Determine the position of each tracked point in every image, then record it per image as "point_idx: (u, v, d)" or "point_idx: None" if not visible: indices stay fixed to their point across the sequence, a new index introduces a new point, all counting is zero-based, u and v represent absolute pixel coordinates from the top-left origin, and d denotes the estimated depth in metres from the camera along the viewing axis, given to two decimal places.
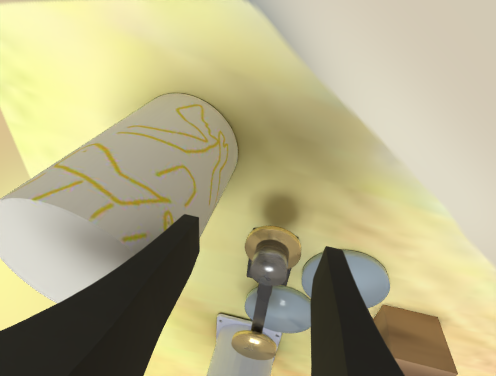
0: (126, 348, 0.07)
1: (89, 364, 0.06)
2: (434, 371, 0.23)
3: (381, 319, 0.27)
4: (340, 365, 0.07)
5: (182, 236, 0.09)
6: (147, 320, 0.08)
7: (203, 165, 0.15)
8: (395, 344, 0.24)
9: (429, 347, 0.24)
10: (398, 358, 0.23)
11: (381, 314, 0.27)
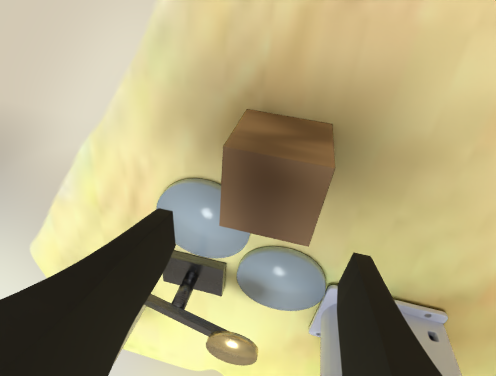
0: (88, 337, 0.07)
1: (42, 350, 0.06)
2: (231, 178, 0.13)
3: None
4: None
5: (152, 229, 0.10)
6: (114, 311, 0.08)
7: None
8: None
9: None
10: (219, 220, 0.15)
11: None
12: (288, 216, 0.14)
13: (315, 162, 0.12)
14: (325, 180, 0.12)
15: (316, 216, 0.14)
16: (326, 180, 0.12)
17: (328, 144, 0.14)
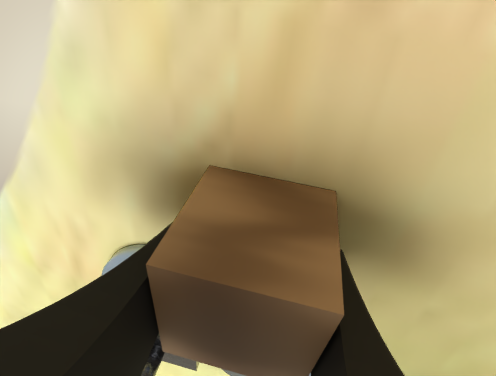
0: (124, 347, 0.07)
1: (86, 363, 0.06)
2: (167, 303, 0.08)
3: None
4: (339, 365, 0.07)
5: None
6: (145, 319, 0.08)
7: None
8: None
9: None
10: (162, 345, 0.10)
11: None
12: (265, 358, 0.09)
13: (307, 298, 0.07)
14: (326, 327, 0.07)
15: (311, 364, 0.08)
16: (328, 327, 0.07)
17: (331, 244, 0.08)
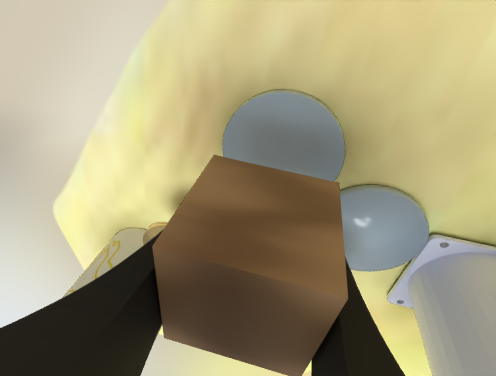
0: (123, 347, 0.07)
1: (85, 363, 0.06)
2: (172, 287, 0.08)
3: None
4: (340, 365, 0.07)
5: None
6: (144, 319, 0.08)
7: (85, 275, 0.22)
8: None
9: None
10: (164, 331, 0.10)
11: None
12: (267, 344, 0.09)
13: (312, 282, 0.07)
14: (329, 311, 0.07)
15: (312, 350, 0.08)
16: (331, 311, 0.07)
17: (335, 232, 0.08)
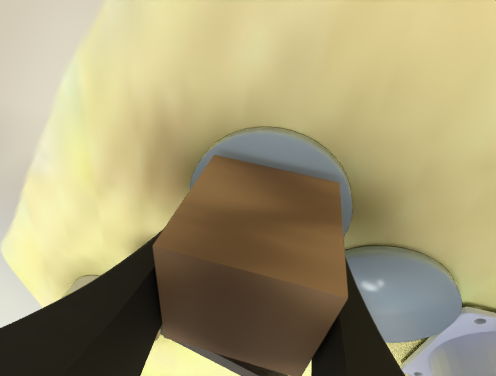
0: (123, 347, 0.07)
1: (85, 363, 0.06)
2: (172, 286, 0.08)
3: None
4: (340, 365, 0.07)
5: None
6: (144, 319, 0.08)
7: None
8: None
9: None
10: (164, 331, 0.10)
11: None
12: (267, 343, 0.09)
13: (312, 281, 0.07)
14: (329, 310, 0.07)
15: (312, 349, 0.08)
16: (331, 311, 0.07)
17: (335, 232, 0.08)
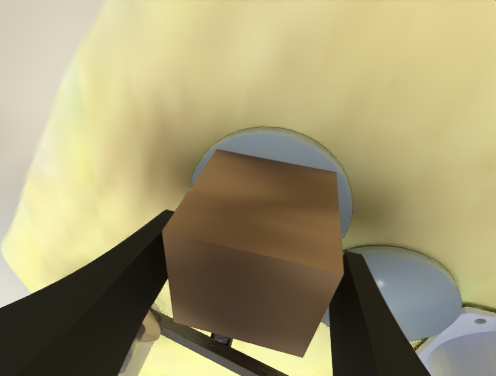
0: (99, 340, 0.07)
1: (55, 354, 0.06)
2: (181, 270, 0.09)
3: None
4: (370, 373, 0.07)
5: (160, 232, 0.10)
6: (123, 313, 0.08)
7: None
8: None
9: None
10: (173, 316, 0.11)
11: None
12: (271, 323, 0.09)
13: (310, 260, 0.07)
14: (327, 287, 0.08)
15: (313, 327, 0.09)
16: (329, 287, 0.08)
17: (332, 216, 0.09)
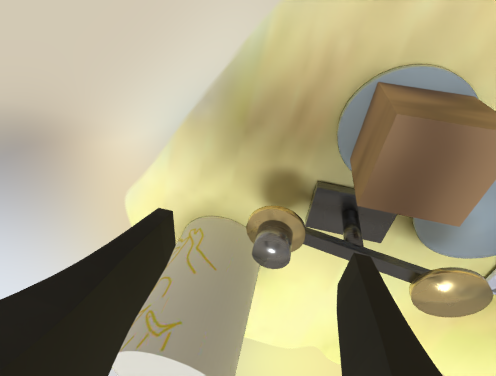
0: (88, 337, 0.07)
1: (42, 349, 0.06)
2: (392, 150, 0.12)
3: None
4: None
5: (152, 230, 0.10)
6: (114, 311, 0.08)
7: (175, 262, 0.22)
8: (357, 187, 0.15)
9: (375, 134, 0.14)
10: (359, 199, 0.14)
11: None
12: (447, 193, 0.13)
13: None
14: None
15: (483, 192, 0.13)
16: None
17: (495, 114, 0.13)
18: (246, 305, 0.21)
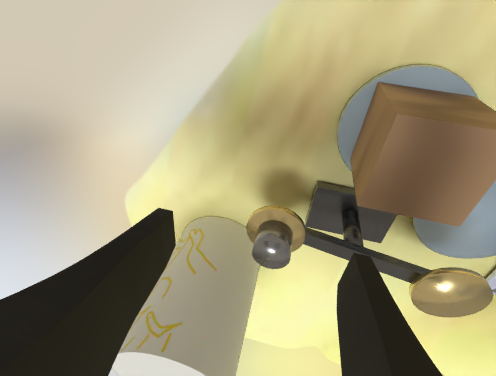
0: (88, 337, 0.07)
1: (42, 349, 0.06)
2: (393, 150, 0.12)
3: None
4: None
5: (152, 230, 0.10)
6: (114, 311, 0.08)
7: (176, 263, 0.22)
8: (357, 187, 0.15)
9: (375, 134, 0.14)
10: (359, 199, 0.14)
11: None
12: (447, 193, 0.13)
13: None
14: None
15: (483, 192, 0.13)
16: None
17: (495, 114, 0.13)
18: (247, 305, 0.21)
